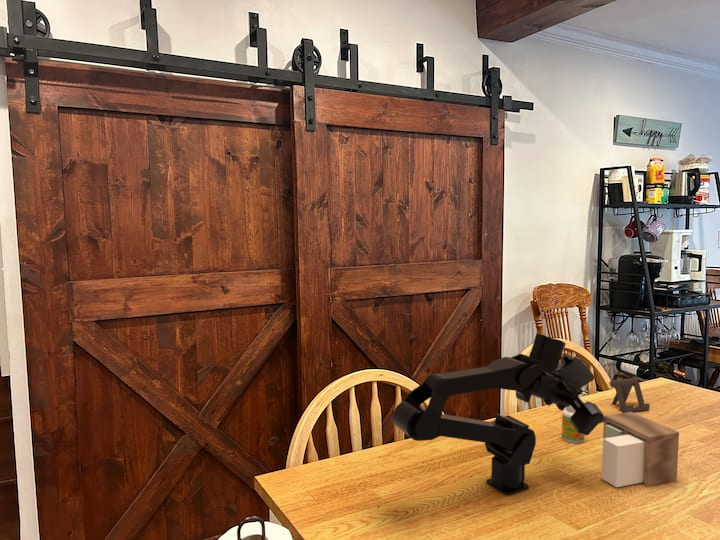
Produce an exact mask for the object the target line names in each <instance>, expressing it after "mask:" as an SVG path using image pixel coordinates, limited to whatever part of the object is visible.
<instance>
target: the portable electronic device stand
mask: <svg viewBox="0 0 720 540" xmlns="http://www.w3.org/2000/svg"><path fill="white" fill-rule="evenodd" d="M609 385H610V387H611V388H612V389H613V388H614V389H615V392H616V393H615V395H614V398H613V401H612V402H611V404H612V405H617V403H618V404H619V409H620V412H621V413H626V412H633V413H635V412H642V411H643V412H645V411H649V410H650V403H645V401H644V396H643V392H642V389H641V385H640V382H639V379H638V378H637V377H632V378H622V379H612V380H610V381H609ZM632 388H633V389H634V391H635V395H636V399H637V403H638V406H636V407H635V406H634V405H633V404H632V405H626V403H627V401H628V399H629V395H630V394H631V391H632Z"/></svg>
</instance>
